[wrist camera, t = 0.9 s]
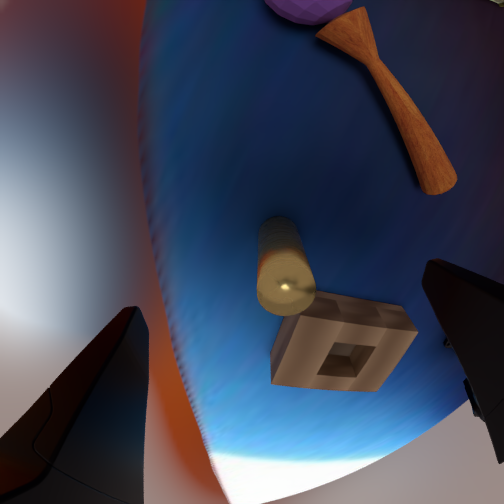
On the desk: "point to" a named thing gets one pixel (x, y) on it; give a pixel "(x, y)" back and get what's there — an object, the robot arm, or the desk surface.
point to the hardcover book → (499, 2)
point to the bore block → (340, 344)
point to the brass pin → (283, 269)
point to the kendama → (400, 104)
